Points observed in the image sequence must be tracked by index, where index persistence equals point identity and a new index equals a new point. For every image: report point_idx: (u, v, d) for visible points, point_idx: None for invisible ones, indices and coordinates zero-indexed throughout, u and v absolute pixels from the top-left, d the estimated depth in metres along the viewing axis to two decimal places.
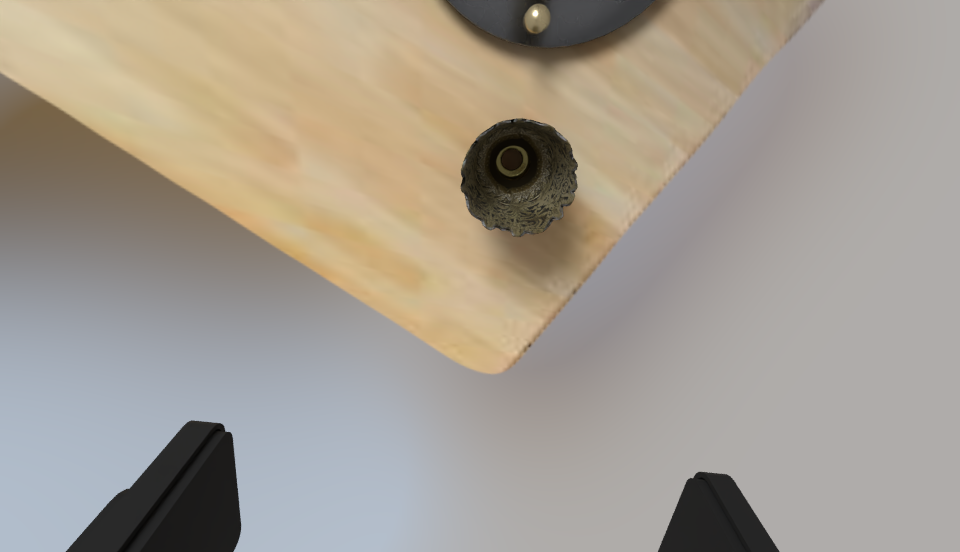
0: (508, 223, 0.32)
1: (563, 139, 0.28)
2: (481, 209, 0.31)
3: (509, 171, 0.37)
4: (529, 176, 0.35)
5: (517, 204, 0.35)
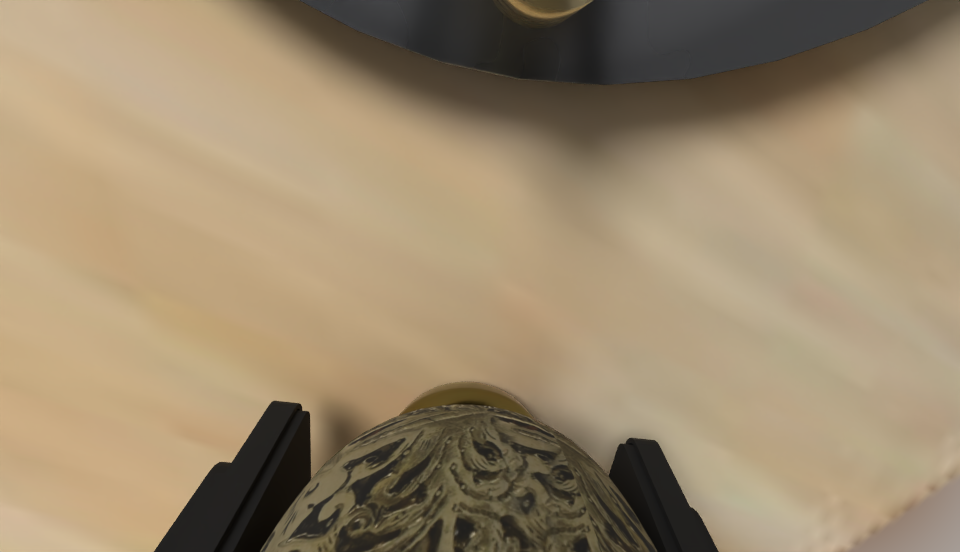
0: None
1: None
2: None
3: None
4: None
5: None
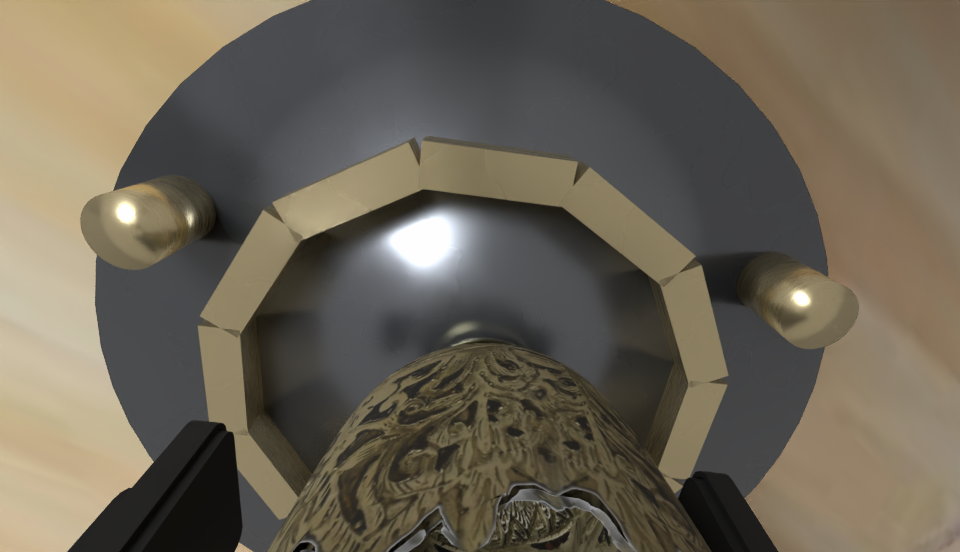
0: None
1: None
2: None
3: None
4: None
5: (499, 550, 0.11)
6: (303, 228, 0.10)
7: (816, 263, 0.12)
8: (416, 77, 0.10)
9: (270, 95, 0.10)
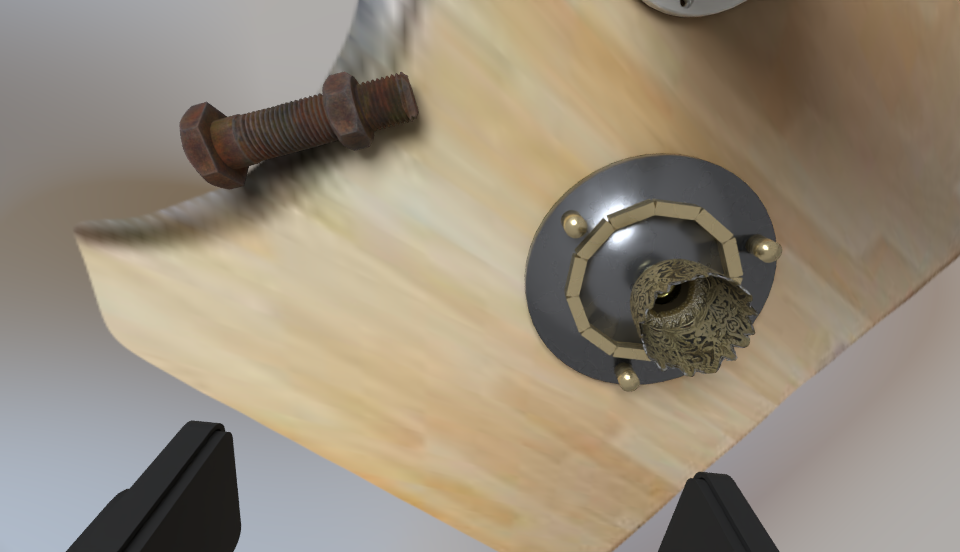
0: (674, 358, 0.33)
1: (746, 292, 0.29)
2: (649, 346, 0.32)
3: None
4: (679, 301, 0.36)
5: (669, 329, 0.35)
6: (616, 226, 0.34)
7: (771, 238, 0.36)
8: (652, 182, 0.34)
9: (608, 187, 0.34)
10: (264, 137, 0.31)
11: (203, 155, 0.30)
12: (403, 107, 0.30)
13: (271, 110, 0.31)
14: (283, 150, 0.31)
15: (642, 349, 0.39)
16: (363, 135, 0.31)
